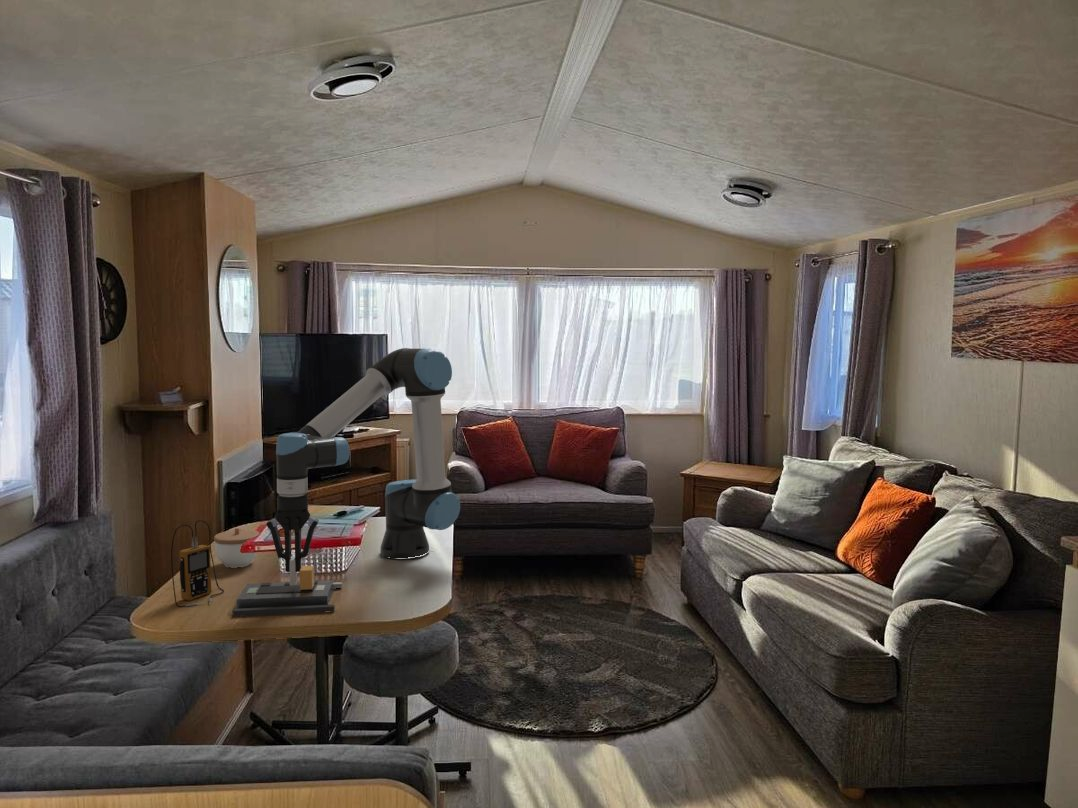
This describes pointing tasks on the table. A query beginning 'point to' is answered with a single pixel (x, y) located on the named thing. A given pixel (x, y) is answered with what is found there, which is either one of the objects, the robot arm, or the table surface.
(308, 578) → the orange rectangular block
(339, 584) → the light grey rod
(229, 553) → the lidded bowl
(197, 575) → the multimeter
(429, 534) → the table surface
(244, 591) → the grey control panel
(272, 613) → the dark grey bar
